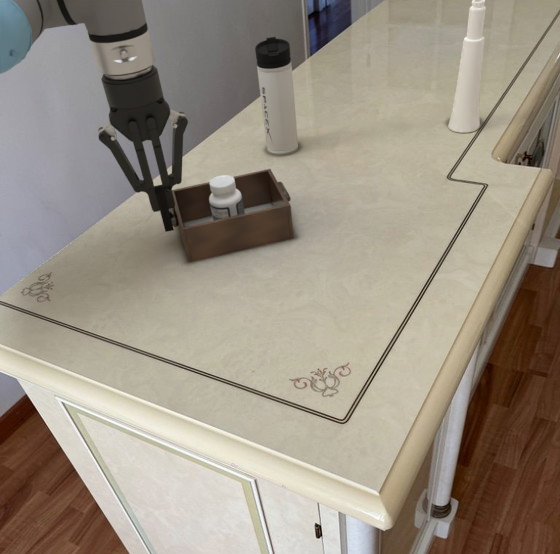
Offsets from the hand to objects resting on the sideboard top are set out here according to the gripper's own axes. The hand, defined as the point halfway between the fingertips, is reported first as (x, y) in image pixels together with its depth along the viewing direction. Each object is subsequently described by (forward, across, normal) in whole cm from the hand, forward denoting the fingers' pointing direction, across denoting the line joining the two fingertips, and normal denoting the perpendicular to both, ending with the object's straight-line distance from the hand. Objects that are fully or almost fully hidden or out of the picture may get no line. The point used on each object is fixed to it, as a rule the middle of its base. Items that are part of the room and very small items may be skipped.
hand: (168, 226), depth 94 cm
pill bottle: (+3, +10, 0) cm, 10 cm away
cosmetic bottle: (+4, +62, +20) cm, 65 cm away
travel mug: (+4, +26, +26) cm, 37 cm away
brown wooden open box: (+4, +10, 0) cm, 11 cm away
